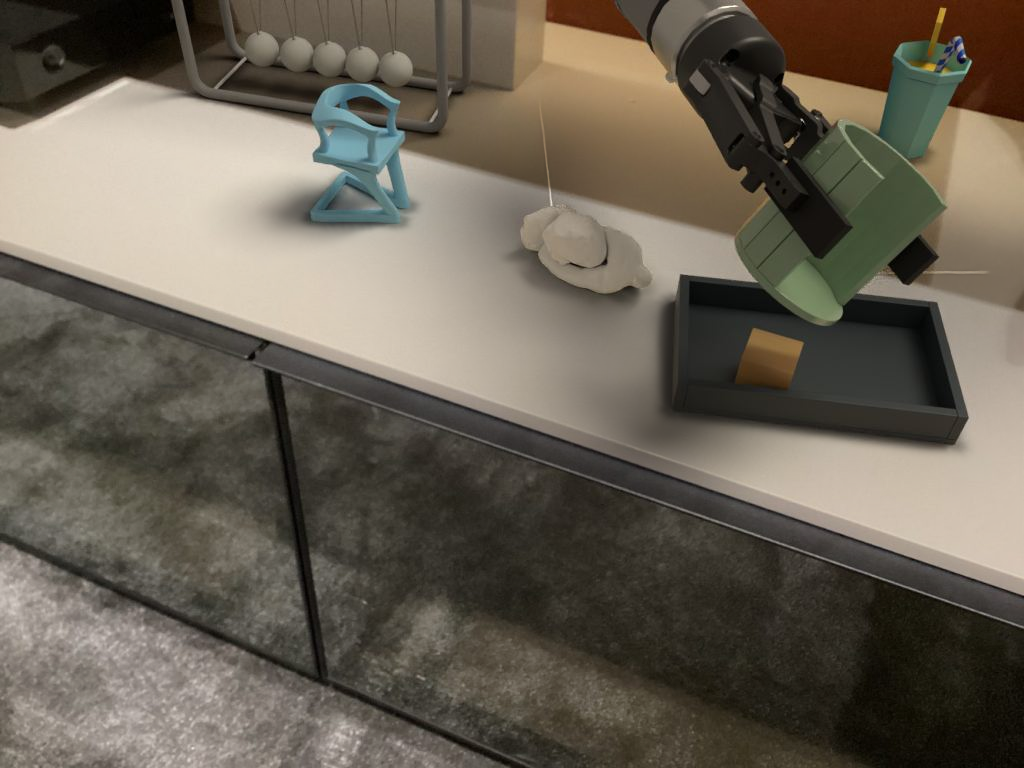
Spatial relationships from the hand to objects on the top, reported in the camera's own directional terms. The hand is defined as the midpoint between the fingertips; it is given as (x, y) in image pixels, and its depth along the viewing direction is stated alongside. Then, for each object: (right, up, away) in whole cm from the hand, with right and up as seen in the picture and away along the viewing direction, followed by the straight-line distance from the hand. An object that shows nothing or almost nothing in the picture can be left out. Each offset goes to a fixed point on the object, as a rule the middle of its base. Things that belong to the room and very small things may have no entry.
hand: (879, 257), depth 61 cm
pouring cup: (-4, -1, +6) cm, 7 cm away
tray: (+1, -7, +18) cm, 19 cm away
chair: (-38, +9, +33) cm, 51 cm away
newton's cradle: (-44, +25, +48) cm, 70 cm away
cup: (+19, +16, +43) cm, 49 cm away
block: (-4, -8, +13) cm, 16 cm away
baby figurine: (-17, +2, +27) cm, 32 cm away
